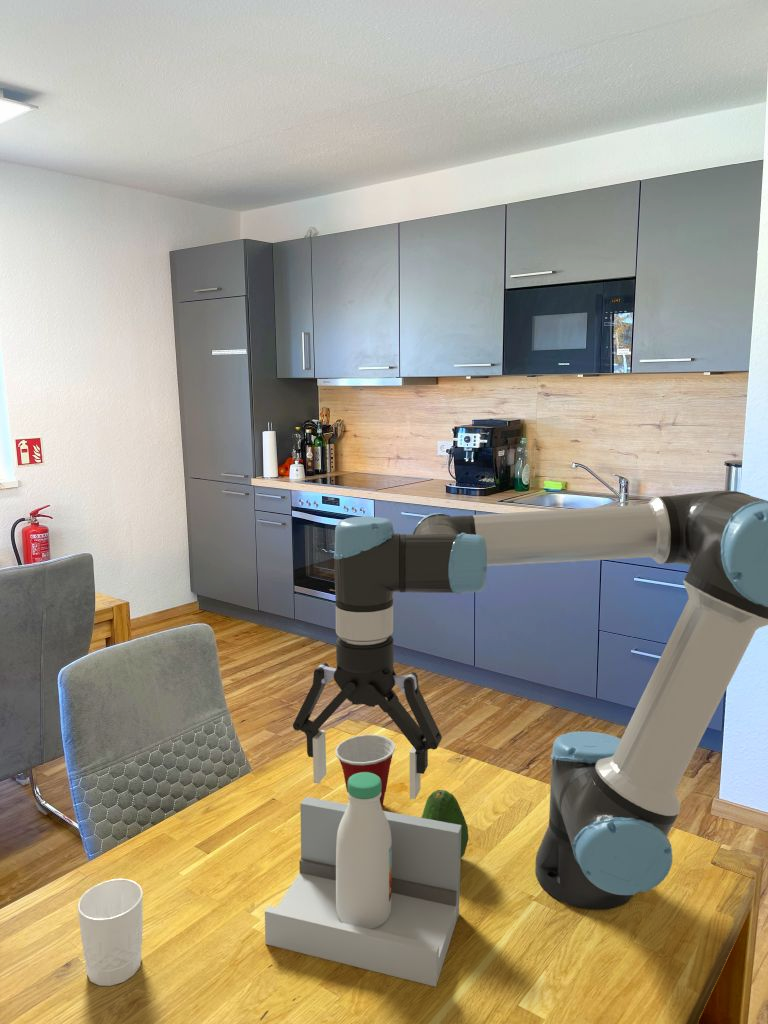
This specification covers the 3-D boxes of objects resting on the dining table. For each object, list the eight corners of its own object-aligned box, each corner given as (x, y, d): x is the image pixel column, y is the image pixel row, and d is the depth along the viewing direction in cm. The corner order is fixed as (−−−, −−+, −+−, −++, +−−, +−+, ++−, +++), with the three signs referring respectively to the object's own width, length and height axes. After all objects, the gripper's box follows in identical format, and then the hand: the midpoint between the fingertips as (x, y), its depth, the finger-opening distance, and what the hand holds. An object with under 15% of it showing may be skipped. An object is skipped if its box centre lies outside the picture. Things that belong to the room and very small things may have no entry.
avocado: (426, 842, 126) (427, 776, 124) (472, 853, 123) (474, 785, 121) (411, 871, 118) (412, 801, 116) (460, 882, 116) (462, 811, 114)
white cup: (124, 936, 104) (121, 870, 102) (158, 964, 99) (154, 895, 97) (70, 969, 98) (65, 900, 96) (103, 1001, 93) (98, 928, 91)
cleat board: (459, 913, 109) (461, 825, 107) (435, 986, 96) (438, 887, 93) (306, 880, 116) (305, 796, 114) (265, 944, 103) (263, 850, 100)
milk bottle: (385, 936, 100) (386, 797, 97) (329, 927, 102) (329, 790, 99) (395, 898, 108) (397, 768, 104) (343, 890, 109) (344, 762, 106)
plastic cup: (338, 791, 142) (337, 731, 140) (395, 792, 141) (395, 732, 139) (332, 824, 131) (331, 760, 129) (394, 825, 131) (394, 761, 129)
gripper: (464, 635, 98) (462, 785, 101) (289, 619, 105) (293, 759, 109) (452, 654, 91) (450, 815, 94) (265, 635, 98) (270, 785, 102)
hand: (366, 786), depth 102 cm, fingers open, 13 cm apart
